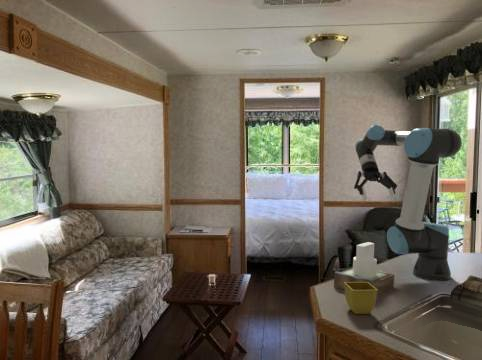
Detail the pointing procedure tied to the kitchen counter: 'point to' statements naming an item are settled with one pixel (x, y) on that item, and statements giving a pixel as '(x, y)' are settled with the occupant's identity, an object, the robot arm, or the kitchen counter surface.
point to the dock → (365, 280)
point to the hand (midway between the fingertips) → (379, 200)
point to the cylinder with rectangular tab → (365, 260)
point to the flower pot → (360, 296)
